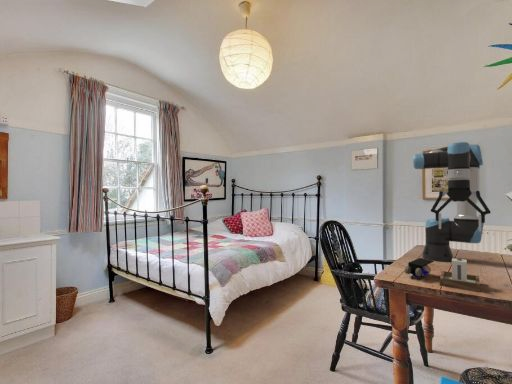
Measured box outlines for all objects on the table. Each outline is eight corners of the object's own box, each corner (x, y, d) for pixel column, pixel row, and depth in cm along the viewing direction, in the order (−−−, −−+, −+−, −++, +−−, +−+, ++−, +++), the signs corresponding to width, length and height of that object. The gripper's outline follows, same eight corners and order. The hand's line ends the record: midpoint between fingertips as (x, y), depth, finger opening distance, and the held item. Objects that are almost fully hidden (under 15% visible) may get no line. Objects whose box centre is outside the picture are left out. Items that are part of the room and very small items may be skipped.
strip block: (452, 279, 119) (452, 256, 119) (466, 281, 116) (466, 258, 116) (451, 282, 115) (451, 259, 115) (467, 284, 112) (466, 260, 112)
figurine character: (420, 284, 120) (434, 274, 129) (419, 267, 119) (433, 258, 128) (404, 281, 125) (419, 271, 134) (403, 264, 125) (418, 256, 134)
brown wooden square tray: (441, 277, 125) (441, 271, 125) (478, 283, 117) (478, 276, 117) (439, 285, 114) (439, 278, 114) (480, 292, 107) (480, 284, 107)
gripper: (423, 180, 121) (423, 228, 121) (498, 178, 106) (499, 233, 106) (425, 180, 127) (425, 226, 127) (497, 178, 112) (497, 230, 112)
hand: (459, 229), depth 116 cm, fingers open, 13 cm apart
